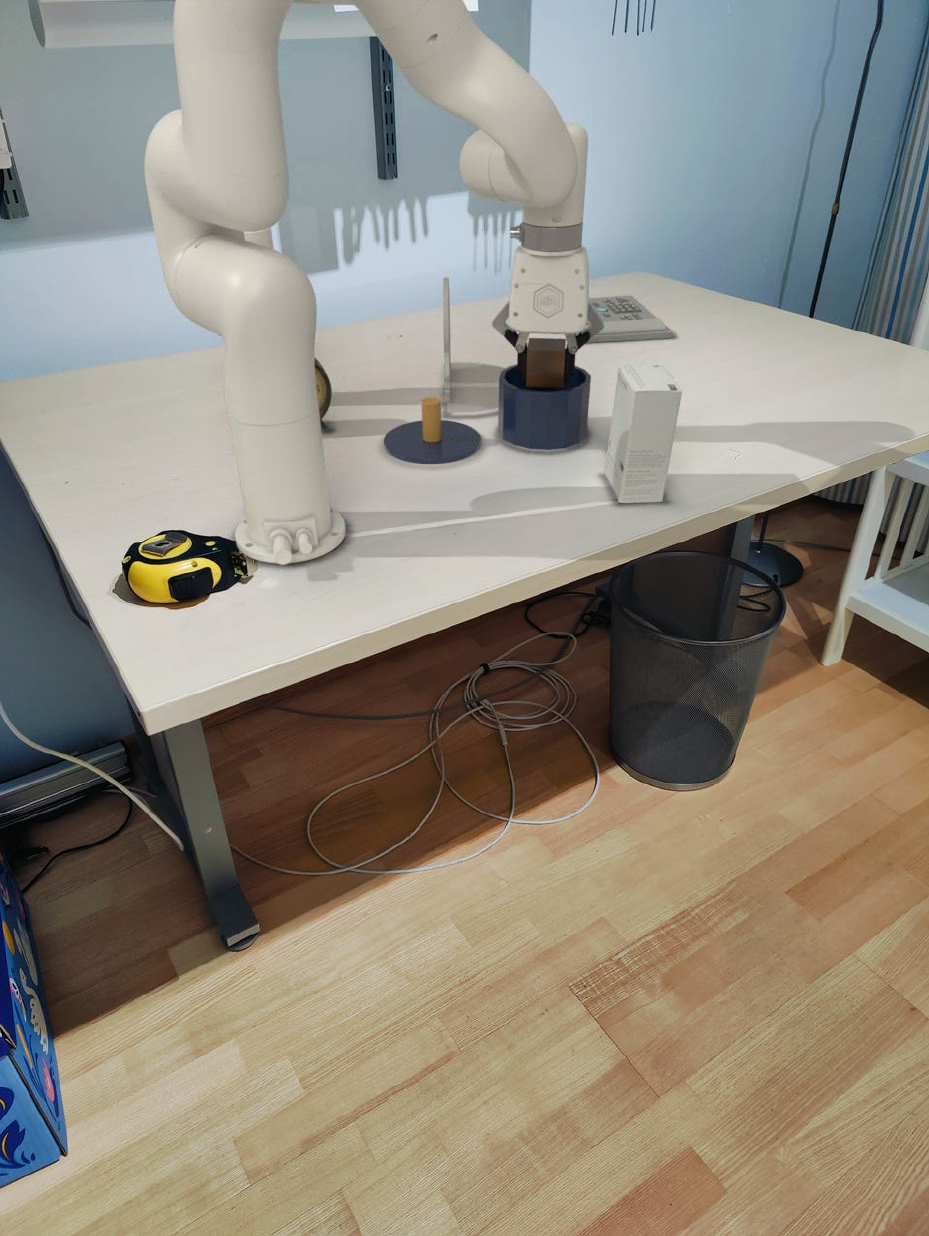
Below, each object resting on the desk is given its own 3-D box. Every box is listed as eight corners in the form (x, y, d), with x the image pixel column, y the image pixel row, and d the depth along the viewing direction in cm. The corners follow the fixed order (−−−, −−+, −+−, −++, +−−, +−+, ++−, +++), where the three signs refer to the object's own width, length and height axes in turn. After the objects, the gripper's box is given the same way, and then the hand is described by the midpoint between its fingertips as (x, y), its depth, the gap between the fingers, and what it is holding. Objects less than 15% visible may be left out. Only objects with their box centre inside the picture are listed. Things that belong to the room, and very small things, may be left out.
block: (563, 374, 120) (565, 338, 117) (563, 387, 116) (565, 350, 113) (527, 373, 121) (529, 337, 118) (526, 386, 117) (527, 349, 114)
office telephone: (675, 324, 156) (568, 331, 153) (673, 338, 158) (567, 346, 155) (632, 288, 174) (535, 294, 172) (630, 301, 176) (535, 307, 173)
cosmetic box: (603, 475, 112) (614, 363, 104) (648, 473, 113) (663, 361, 104) (618, 506, 106) (631, 388, 97) (667, 503, 106) (684, 386, 97)
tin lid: (491, 461, 116) (492, 414, 112) (393, 473, 114) (390, 425, 110) (467, 423, 127) (467, 378, 123) (377, 432, 124) (373, 387, 120)
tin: (599, 447, 119) (604, 388, 114) (512, 457, 117) (514, 397, 112) (569, 413, 129) (572, 357, 124) (489, 422, 127) (489, 365, 122)
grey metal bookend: (446, 365, 146) (444, 261, 137) (524, 364, 146) (527, 260, 137) (445, 416, 129) (442, 301, 119) (534, 415, 129) (538, 300, 119)
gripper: (480, 243, 106) (480, 387, 116) (622, 245, 104) (608, 391, 115) (486, 229, 112) (485, 367, 122) (619, 231, 110) (607, 371, 121)
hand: (545, 377), depth 118 cm, fingers closed on block, 5 cm apart
